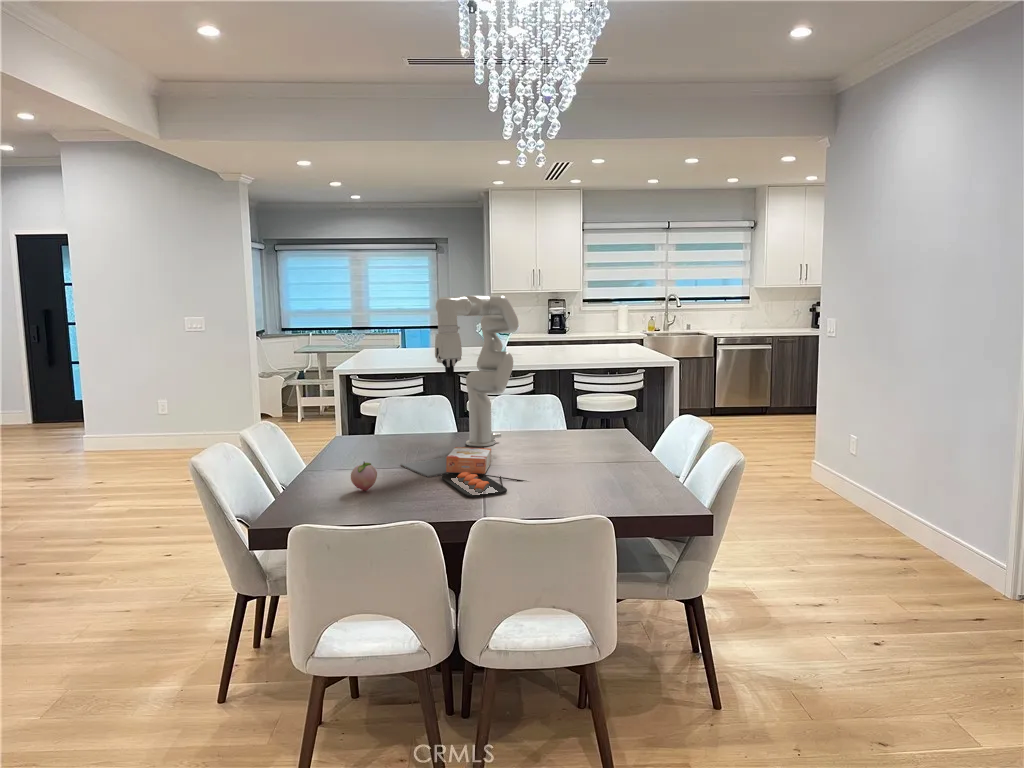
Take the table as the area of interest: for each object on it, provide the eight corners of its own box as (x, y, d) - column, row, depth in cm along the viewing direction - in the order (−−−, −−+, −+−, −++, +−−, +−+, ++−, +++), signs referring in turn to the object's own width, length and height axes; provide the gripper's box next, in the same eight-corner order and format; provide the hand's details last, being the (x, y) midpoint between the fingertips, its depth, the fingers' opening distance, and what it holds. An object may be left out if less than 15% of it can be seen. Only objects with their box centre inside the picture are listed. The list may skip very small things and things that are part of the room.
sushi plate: (438, 480, 246) (438, 469, 246) (516, 471, 258) (516, 460, 258) (468, 502, 220) (468, 490, 219) (553, 490, 232) (553, 479, 232)
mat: (451, 457, 278) (451, 456, 278) (480, 468, 260) (480, 466, 260) (400, 465, 265) (400, 464, 265) (427, 477, 247) (427, 475, 247)
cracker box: (491, 447, 266) (485, 458, 245) (491, 462, 267) (485, 475, 246) (454, 445, 267) (446, 456, 246) (454, 461, 268) (445, 473, 247)
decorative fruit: (355, 487, 236) (354, 458, 234) (379, 487, 235) (378, 458, 234) (348, 495, 226) (346, 464, 225) (373, 495, 226) (372, 464, 225)
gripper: (459, 328, 281) (460, 373, 284) (426, 330, 272) (428, 377, 275) (469, 329, 275) (471, 375, 278) (436, 331, 266) (438, 379, 269)
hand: (449, 376), depth 276 cm, fingers closed
